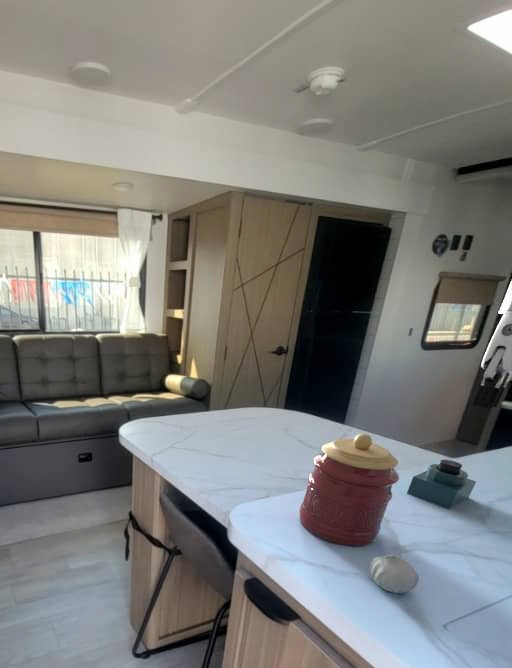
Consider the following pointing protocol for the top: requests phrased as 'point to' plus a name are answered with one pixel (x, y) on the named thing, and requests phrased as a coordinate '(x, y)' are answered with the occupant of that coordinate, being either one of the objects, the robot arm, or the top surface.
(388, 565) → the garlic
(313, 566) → the top surface
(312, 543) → the top surface
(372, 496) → the kitchen canister
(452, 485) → the green push button box
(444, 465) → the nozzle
